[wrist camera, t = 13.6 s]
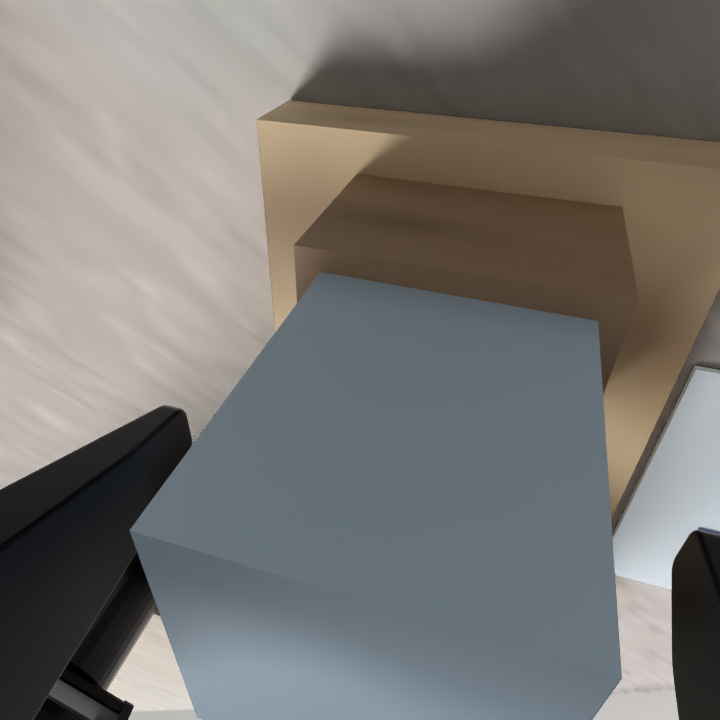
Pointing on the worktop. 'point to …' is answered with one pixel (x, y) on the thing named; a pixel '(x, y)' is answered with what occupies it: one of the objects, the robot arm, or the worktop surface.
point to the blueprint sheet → (674, 486)
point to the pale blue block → (396, 519)
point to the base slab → (532, 164)
